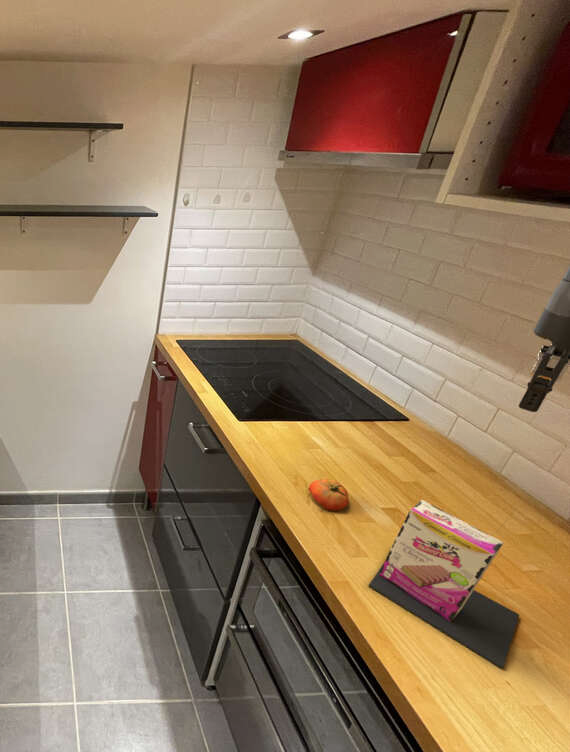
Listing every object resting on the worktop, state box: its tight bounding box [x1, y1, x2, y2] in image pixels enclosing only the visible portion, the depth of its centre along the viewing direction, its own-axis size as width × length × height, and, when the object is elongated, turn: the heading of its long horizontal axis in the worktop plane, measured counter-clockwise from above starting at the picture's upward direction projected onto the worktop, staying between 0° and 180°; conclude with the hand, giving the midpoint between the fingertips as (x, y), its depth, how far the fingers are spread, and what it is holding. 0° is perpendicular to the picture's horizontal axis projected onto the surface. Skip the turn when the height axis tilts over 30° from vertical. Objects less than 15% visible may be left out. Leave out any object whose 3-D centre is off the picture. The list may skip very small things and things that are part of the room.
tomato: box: [307, 478, 350, 512], centre depth 101 cm, size 8×7×7 cm
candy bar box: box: [379, 499, 504, 622], centre depth 76 cm, size 11×5×16 cm, turn 32°
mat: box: [368, 562, 520, 670], centre depth 79 cm, size 18×14×1 cm
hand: (531, 401), depth 76 cm, fingers open, 8 cm apart
